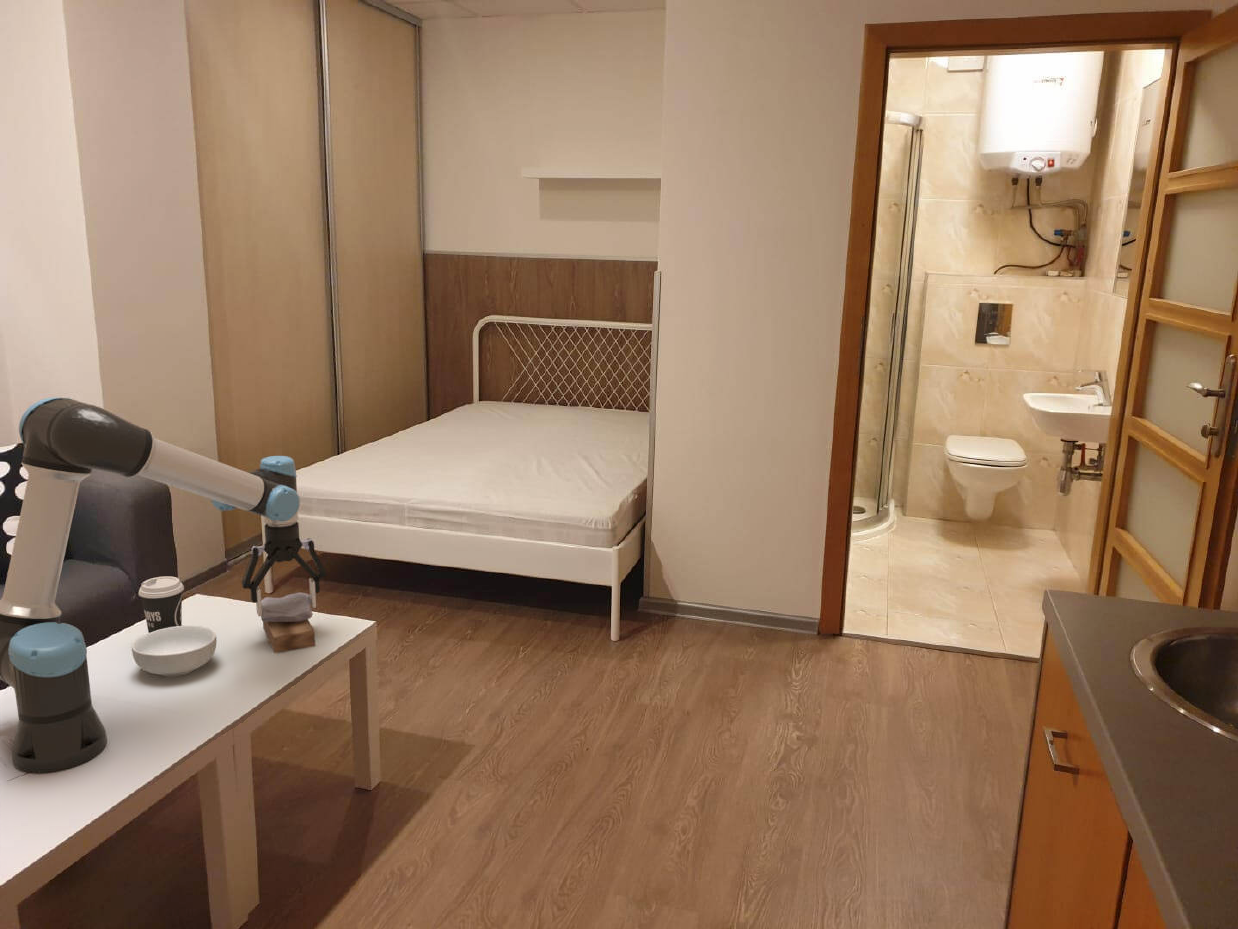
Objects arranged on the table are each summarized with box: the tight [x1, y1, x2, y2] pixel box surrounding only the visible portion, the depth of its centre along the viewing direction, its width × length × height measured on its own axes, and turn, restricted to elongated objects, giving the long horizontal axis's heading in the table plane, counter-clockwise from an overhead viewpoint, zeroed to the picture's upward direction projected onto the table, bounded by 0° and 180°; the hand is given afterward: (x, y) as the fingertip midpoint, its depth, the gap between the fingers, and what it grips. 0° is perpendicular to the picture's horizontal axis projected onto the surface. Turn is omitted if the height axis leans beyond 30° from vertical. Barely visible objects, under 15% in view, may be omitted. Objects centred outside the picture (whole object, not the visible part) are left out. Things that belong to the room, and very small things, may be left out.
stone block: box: [260, 592, 314, 622], centre depth 228 cm, size 12×5×10 cm
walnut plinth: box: [262, 619, 316, 654], centre depth 228 cm, size 9×16×4 cm, turn 29°
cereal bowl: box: [131, 625, 217, 678], centre depth 210 cm, size 17×17×7 cm
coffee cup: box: [138, 575, 185, 633], centre depth 222 cm, size 10×10×15 cm
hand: (286, 610), depth 227 cm, fingers closed on stone block, 12 cm apart
